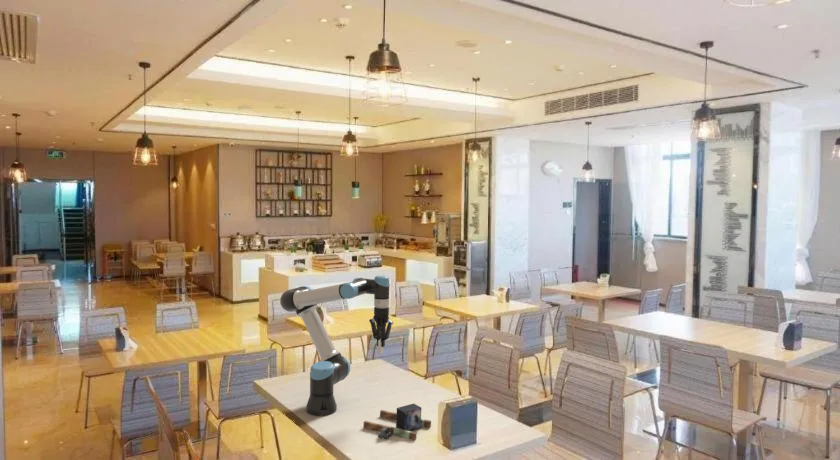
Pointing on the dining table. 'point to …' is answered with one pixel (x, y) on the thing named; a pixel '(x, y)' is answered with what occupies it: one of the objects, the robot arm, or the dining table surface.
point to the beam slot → (391, 429)
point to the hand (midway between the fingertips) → (380, 352)
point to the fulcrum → (385, 433)
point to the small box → (408, 417)
